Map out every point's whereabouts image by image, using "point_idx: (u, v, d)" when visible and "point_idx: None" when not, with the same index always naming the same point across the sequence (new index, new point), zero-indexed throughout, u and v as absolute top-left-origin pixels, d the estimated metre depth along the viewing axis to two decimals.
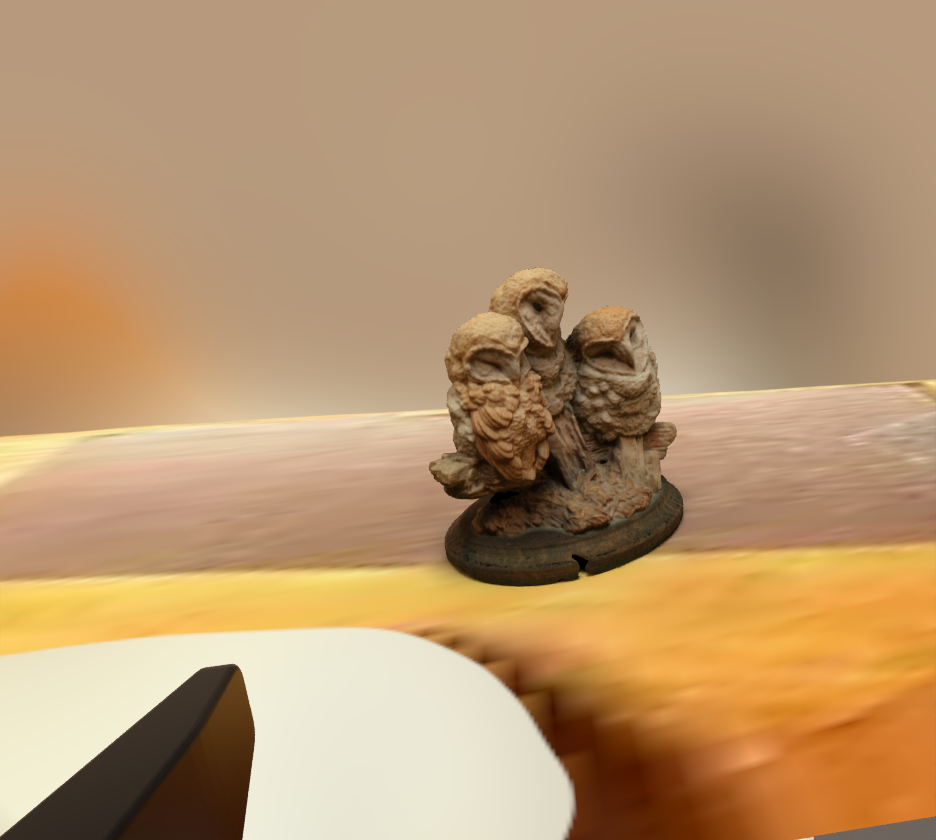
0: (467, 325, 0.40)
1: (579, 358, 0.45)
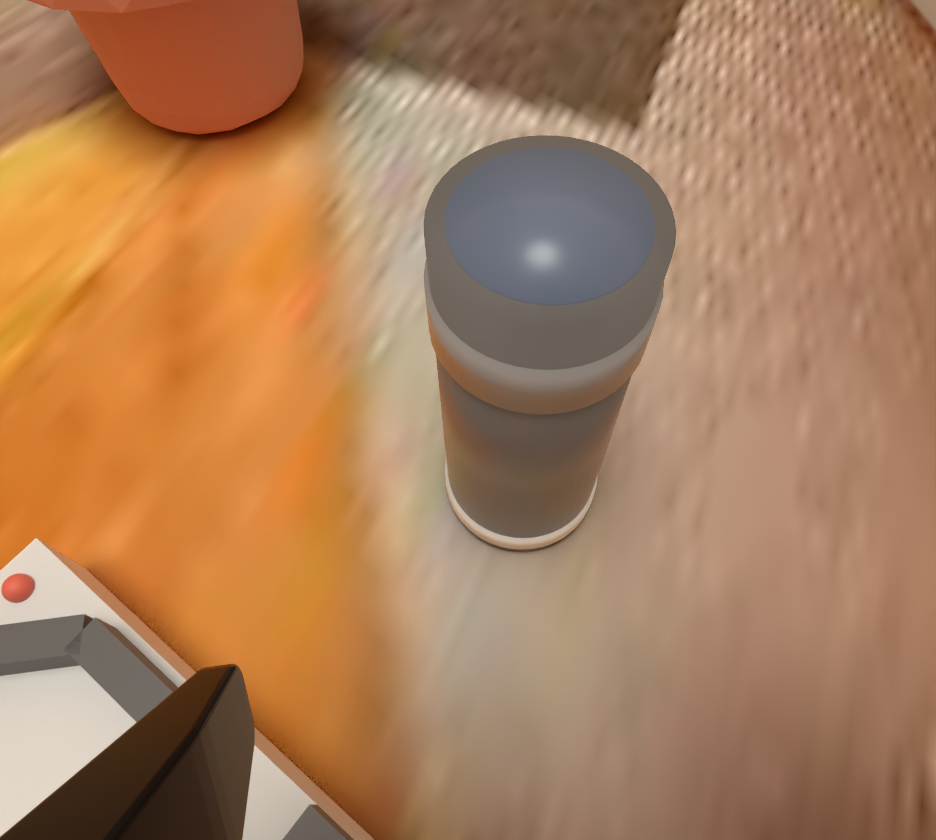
0: None
1: None
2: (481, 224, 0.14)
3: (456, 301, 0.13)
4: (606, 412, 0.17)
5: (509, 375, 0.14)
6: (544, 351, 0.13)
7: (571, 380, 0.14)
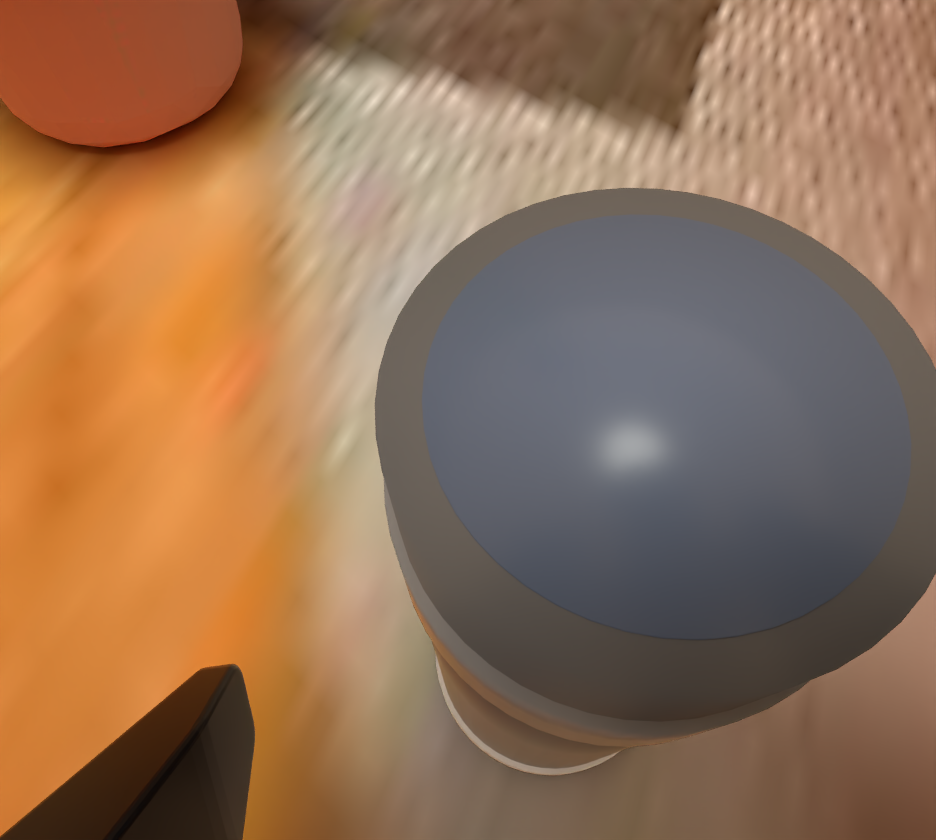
0: None
1: None
2: (507, 408, 0.06)
3: (453, 603, 0.06)
4: None
5: (570, 721, 0.07)
6: (659, 713, 0.06)
7: (705, 730, 0.07)
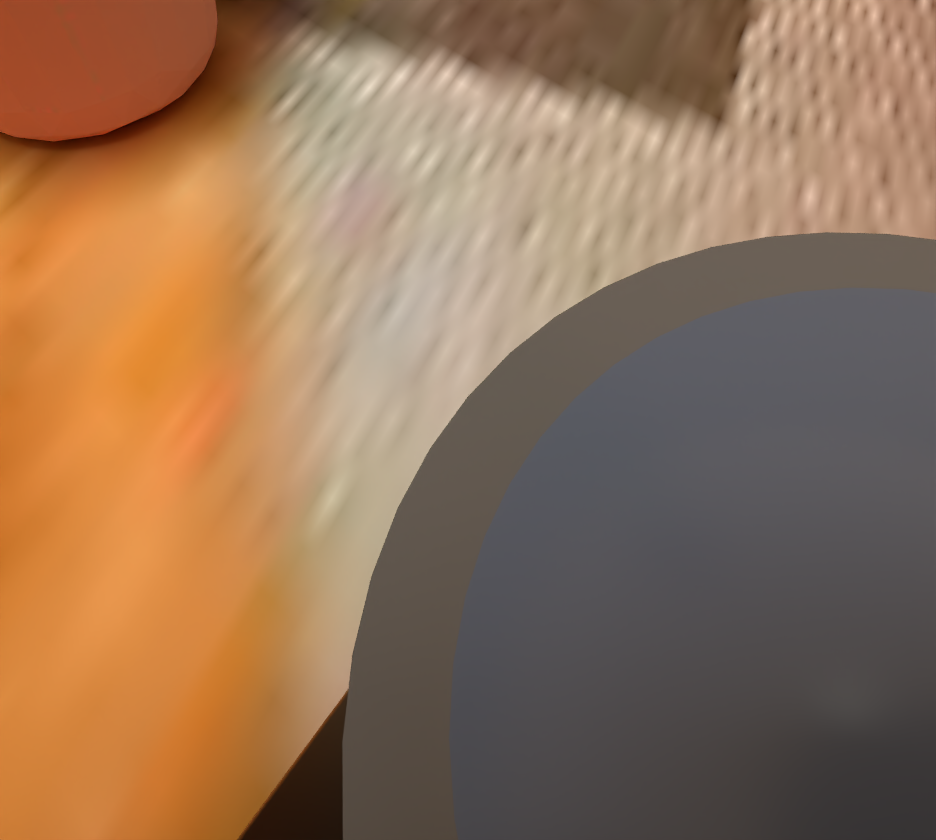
0: None
1: None
2: (648, 771, 0.03)
3: None
4: None
5: None
6: None
7: None
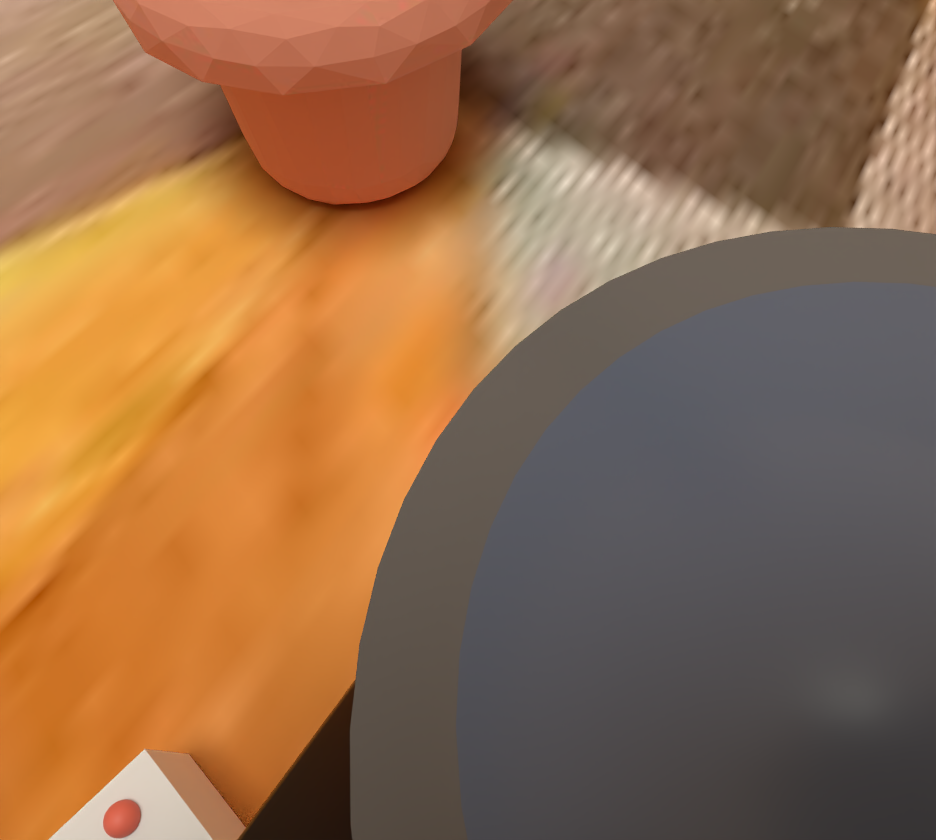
0: None
1: None
2: (653, 759, 0.03)
3: None
4: None
5: None
6: None
7: None
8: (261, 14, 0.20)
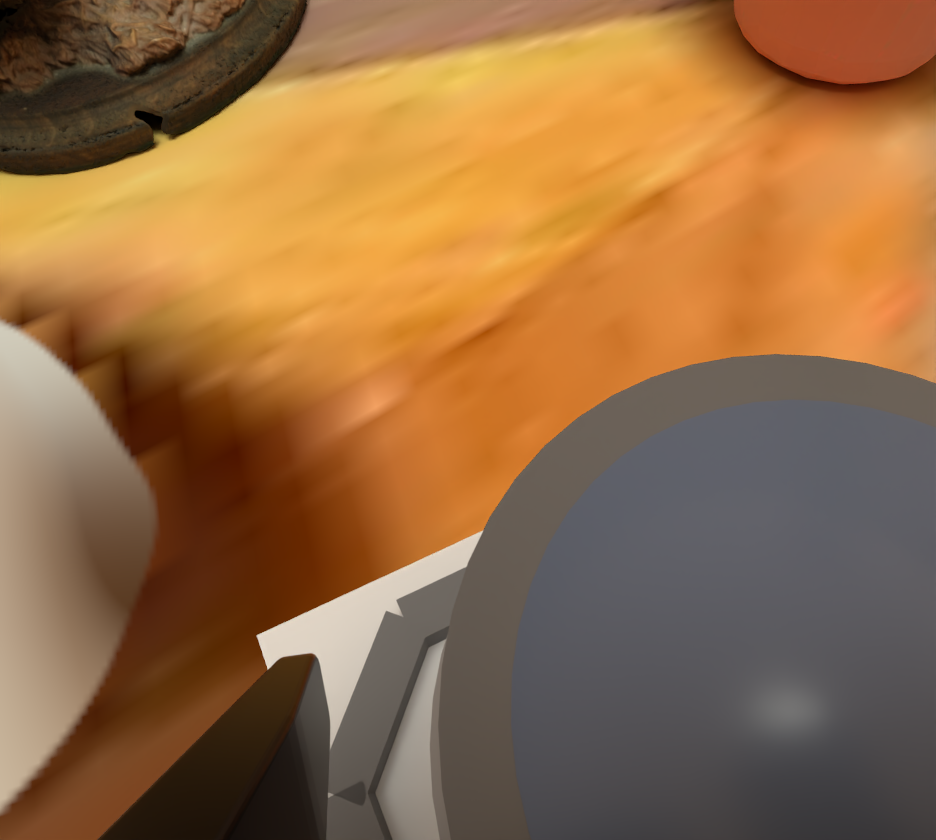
0: None
1: None
2: (645, 745, 0.04)
3: None
4: None
5: None
6: None
7: None
8: None
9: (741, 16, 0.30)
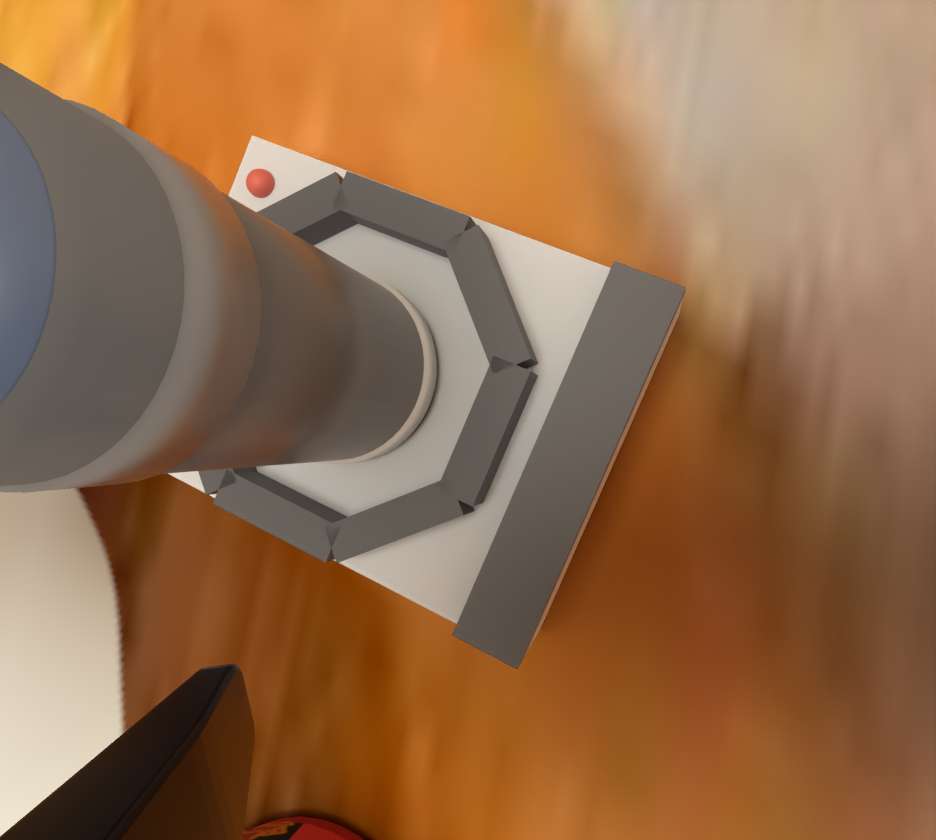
0: None
1: None
2: None
3: None
4: (293, 339, 0.11)
5: (97, 473, 0.09)
6: (78, 443, 0.08)
7: (168, 414, 0.09)
8: None
9: None
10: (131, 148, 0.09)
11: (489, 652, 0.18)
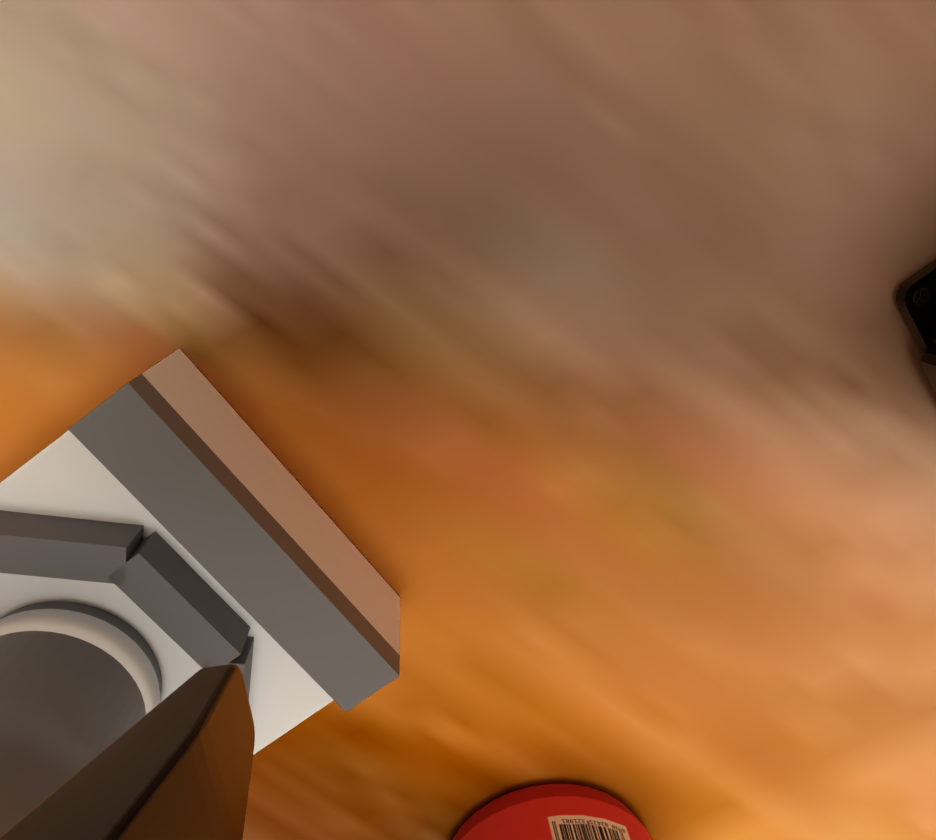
0: None
1: None
2: None
3: None
4: None
5: None
6: None
7: None
8: None
9: None
10: None
11: (374, 690, 0.19)
